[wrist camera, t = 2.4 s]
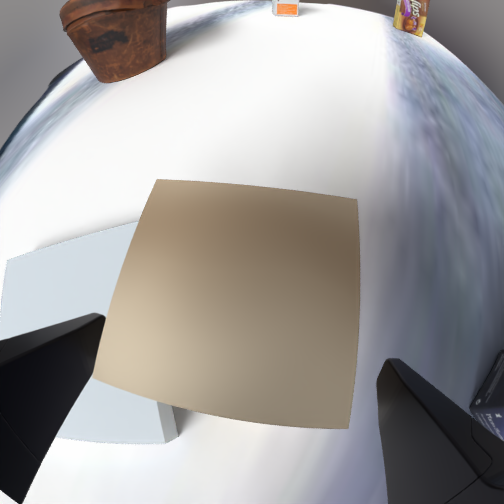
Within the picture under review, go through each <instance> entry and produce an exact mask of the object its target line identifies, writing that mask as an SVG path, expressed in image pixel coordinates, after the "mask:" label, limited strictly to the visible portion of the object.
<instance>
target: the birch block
mask: <svg viewBox="0 0 504 504" xmlns="http://www.w3.org/2000/svg"><path fill="white" fill-rule="evenodd" d="M359 315H360V243H359V221H358V206H357V199H351V198H344V197H338V196H331V195H325V194H317V193H310V192H303V191H295V190H287V189H278V188H269V187H260V186H250V185H239V184H227V183H215V182H200V181H184V180H163V179H157V180H156V182H155V184H154V187H153V189H152V191H151V193H150V196H149V198H148V200H147V203H146V205H145V207H144V210H143V212H142V215H141V217H140V220H139V222H138V225H137V227H136V230H135V232H134V235H133V238H132V240H131V243H130V246H129V248H128V251H127V254H126V257H125V260H124V262H123V265H122V268H121V271H120V274H119V277H118V280H117V283H116V287H115V290H114V293H113V296H112V300H111V303H110V306H109V310H108V313H107V317H106V321H105V324H104V328H103V332H102V336H101V340H100V344H99V349H98V353H97V357H96V362H95V367H94V371H93V376H92V378H94V379H96V380H98V381H101V382H103V383H106V384H108V385H111V386H114V387H116V388H119V389H122V390H124V391H127V392H130V393H133V394H136V395H139V396H142V397H145V398H148V399H151V400H155V401H158V402H161V403H165V404H168V405H172V406H176V407H180V408H183V409H187V410H192V411H196V412H200V413H205V414H209V415H214V416H219V417H224V418H230V419H235V420H241V421H248V422H255V423H262V424H270V425H279V426H290V427H303V428H322V429H348V428H349V421H350V415H351V408H352V400H353V392H354V384H355V374H356V364H357V351H358V336H359Z"/></svg>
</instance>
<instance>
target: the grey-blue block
mask: <svg viewBox="0 0 504 504" xmlns="http://www.w3.org/2000/svg"><path fill="white" fill-rule="evenodd" d="M138 222H139V221H136V222H133V223H129V224H125V225H121V226H117V227H113V228H110V229H106V230H102V231H99V232H95V233H91V234H88V235H84V236H81V237H78V238H74V239H71V240H67V241H64V242H61V243H57V244H54V245H51V246H48V247H45V248H42V249H38V250H35V251H32V252H29V253H26V254H23V255H20V256H17V257H14V258H12V259H9V260H7V264H6V270H5V276H4V283H3V290H2V299H1V309H0V340H3V339H7V338H9V339H10V337H14V336H17V335H21V334H24V333H27V332H31V331H34V330H38V329H41V328H44V327H48V326H51V325H54V324H58V323H61V322H64V321H67V320H71V319H74V318H77V317H81V316H84V315H87V314H90V313H99V314H102V315H104V316H105V317H107V313H108V310H109V306H110V303H111V300H112V296H113V293H114V290H115V287H116V283H117V280H118V277H119V274H120V271H121V268H122V265H123V262H124V260H125V257H126V254H127V251H128V248H129V246H130V243H131V240H132V238H133V235H134V232H135V230H136V227H137V225H138ZM92 376H93V374H92ZM92 376H91V377H90V379H89V381H88V382H87V384H86V386H85V387H84V389H83V390H82V392H81V394H80V395H79V397H78V399H77V400H76V402H75V404H74V405H73V407H72V409H71V410H70V412H69V414H68V416H67V417H66V419H65V421H64V423H63V424H62V426H61V428H60V430H59V431H58V433H57V435H56V437H58V438H64V439H71V440H79V441H88V442H99V443H115V444H166V443H168V442H170V441H172V440H173V439H175V438H177V437H179V436H178V431H177V427H176V422H175V418H174V413H173V408H172V405H168V404H165V403H161V402H158V401H155V400H151V399H148V398H145V397H142V396H139V395H136V394H133V393H130V392H127V391H124V390H122V389H119V388H116V387H114V386H111V385H108V384H106V383H103V382H101V381H98V380H96V379H94V378H92Z"/></svg>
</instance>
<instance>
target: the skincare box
mask: <svg viewBox="0 0 504 504" xmlns="http://www.w3.org/2000/svg"><path fill="white" fill-rule="evenodd" d="M298 10H299V0H272V13H273V14H274V15H275V16H295V17H298Z"/></svg>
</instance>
